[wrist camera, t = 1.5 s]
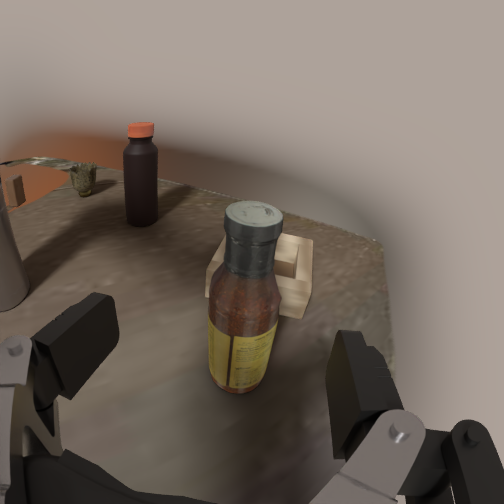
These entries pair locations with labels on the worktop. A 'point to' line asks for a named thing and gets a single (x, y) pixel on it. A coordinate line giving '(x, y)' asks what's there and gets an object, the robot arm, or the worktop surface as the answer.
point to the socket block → (283, 272)
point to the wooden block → (15, 190)
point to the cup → (83, 178)
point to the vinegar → (141, 175)
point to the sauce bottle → (244, 297)
